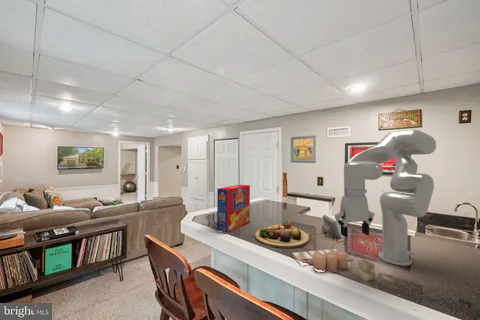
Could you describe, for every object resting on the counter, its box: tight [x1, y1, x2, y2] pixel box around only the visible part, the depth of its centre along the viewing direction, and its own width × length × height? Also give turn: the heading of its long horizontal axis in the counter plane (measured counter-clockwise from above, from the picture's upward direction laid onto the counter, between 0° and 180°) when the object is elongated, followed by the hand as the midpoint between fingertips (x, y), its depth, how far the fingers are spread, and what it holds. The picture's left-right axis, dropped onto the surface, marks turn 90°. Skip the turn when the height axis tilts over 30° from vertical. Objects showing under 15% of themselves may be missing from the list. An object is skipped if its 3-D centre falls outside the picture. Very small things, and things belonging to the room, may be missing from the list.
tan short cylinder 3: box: [335, 249, 349, 270], centre depth 91 cm, size 5×5×6 cm
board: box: [289, 248, 354, 264], centre depth 100 cm, size 26×12×1 cm, turn 102°
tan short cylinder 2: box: [324, 252, 338, 272], centre depth 89 cm, size 5×5×6 cm
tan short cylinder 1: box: [312, 253, 327, 271], centre depth 89 cm, size 5×5×6 cm
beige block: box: [357, 259, 376, 282], centre depth 83 cm, size 4×4×6 cm
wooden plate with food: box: [254, 219, 310, 250], centre depth 126 cm, size 32×32×8 cm
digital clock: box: [321, 214, 342, 239], centre depth 131 cm, size 16×9×11 cm, turn 168°
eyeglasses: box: [309, 231, 347, 249], centre depth 117 cm, size 14×14×4 cm
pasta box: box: [216, 184, 251, 234], centre depth 145 cm, size 28×8×28 cm, turn 147°
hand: (355, 234), depth 85 cm, fingers open, 9 cm apart
